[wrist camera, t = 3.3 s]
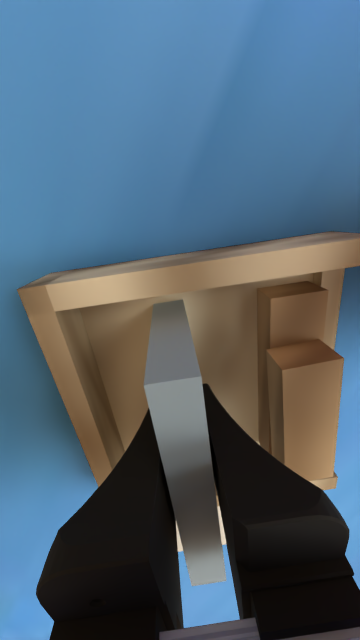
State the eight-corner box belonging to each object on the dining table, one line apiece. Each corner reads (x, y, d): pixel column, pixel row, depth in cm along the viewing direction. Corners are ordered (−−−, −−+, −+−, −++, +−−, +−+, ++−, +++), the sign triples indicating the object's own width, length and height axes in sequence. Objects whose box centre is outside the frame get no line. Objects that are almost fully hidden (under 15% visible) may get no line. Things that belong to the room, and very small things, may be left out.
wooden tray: (331, 231, 11) (381, 235, 9) (308, 446, 17) (335, 488, 14) (50, 272, 11) (16, 289, 9) (121, 475, 17) (113, 522, 14)
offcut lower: (307, 280, 11) (328, 290, 10) (296, 435, 15) (310, 458, 14) (256, 288, 11) (270, 298, 10) (258, 441, 15) (268, 464, 14)
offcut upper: (319, 339, 11) (343, 358, 9) (314, 448, 13) (333, 477, 12) (266, 349, 11) (281, 370, 9) (272, 456, 14) (285, 485, 12)
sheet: (182, 299, 11) (201, 376, 6) (203, 449, 15) (226, 580, 10) (153, 303, 11) (143, 385, 6) (181, 452, 15) (191, 586, 10)
